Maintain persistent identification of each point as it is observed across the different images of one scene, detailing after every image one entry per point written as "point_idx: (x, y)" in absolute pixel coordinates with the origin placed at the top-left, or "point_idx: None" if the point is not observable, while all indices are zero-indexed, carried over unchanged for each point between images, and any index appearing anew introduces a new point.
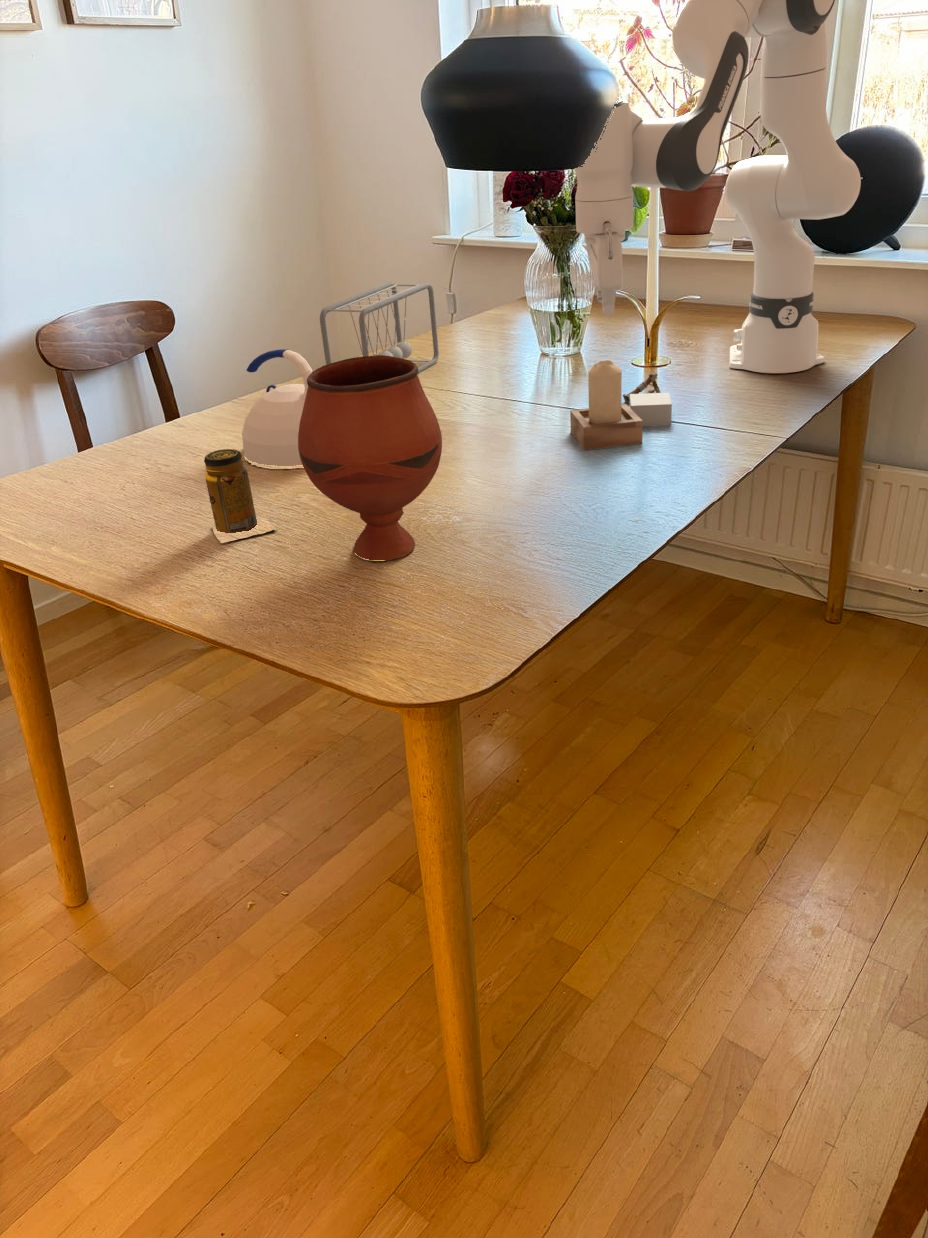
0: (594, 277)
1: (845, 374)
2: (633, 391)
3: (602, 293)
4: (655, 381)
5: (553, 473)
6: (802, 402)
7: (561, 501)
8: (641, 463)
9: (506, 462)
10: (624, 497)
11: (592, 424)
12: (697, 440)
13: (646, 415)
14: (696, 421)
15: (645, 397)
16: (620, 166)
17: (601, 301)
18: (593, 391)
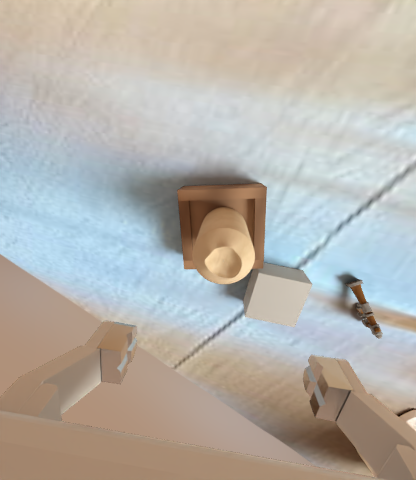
0: (189, 461)
1: (326, 466)
2: (361, 295)
3: (10, 387)
4: (370, 328)
5: (108, 129)
6: (262, 415)
7: (15, 122)
8: (126, 239)
9: (162, 62)
10: (28, 197)
11: (186, 204)
12: (183, 308)
13: (251, 283)
14: (244, 325)
15: (286, 297)
16: None
17: (311, 364)
18: (208, 223)
